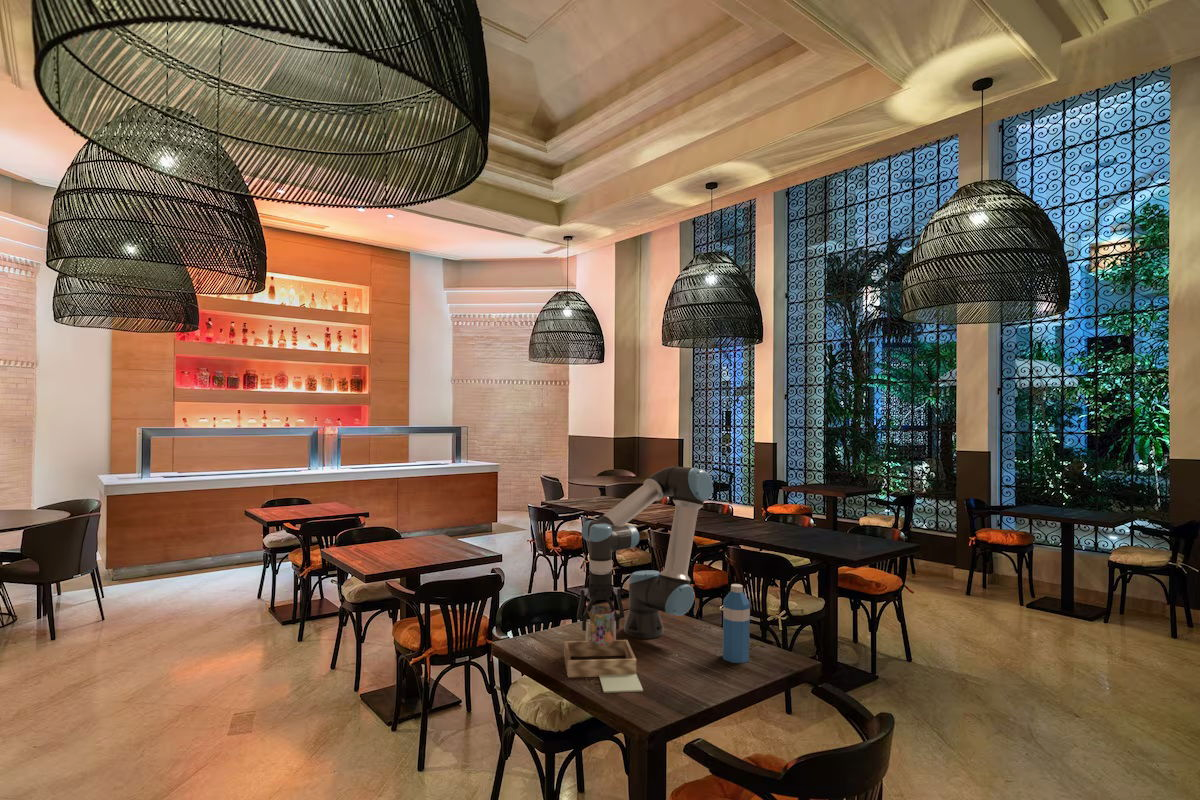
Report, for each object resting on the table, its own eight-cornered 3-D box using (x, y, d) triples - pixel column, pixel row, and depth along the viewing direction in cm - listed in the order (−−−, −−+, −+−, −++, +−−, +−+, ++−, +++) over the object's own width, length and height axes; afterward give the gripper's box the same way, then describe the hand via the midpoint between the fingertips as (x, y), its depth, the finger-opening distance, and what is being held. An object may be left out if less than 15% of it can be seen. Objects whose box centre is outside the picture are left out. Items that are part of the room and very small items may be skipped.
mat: (636, 675, 207) (636, 673, 207) (643, 691, 195) (643, 689, 195) (599, 676, 206) (599, 674, 206) (603, 692, 194) (603, 691, 194)
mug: (618, 645, 211) (618, 613, 211) (591, 648, 208) (591, 615, 208) (607, 633, 222) (607, 602, 222) (581, 635, 219) (581, 604, 219)
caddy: (627, 654, 225) (627, 639, 225) (636, 675, 207) (636, 659, 207) (564, 655, 222) (564, 641, 222) (567, 677, 204) (567, 661, 204)
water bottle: (718, 659, 221) (719, 586, 222) (726, 651, 230) (727, 580, 230) (745, 665, 217) (746, 590, 217) (752, 656, 225) (753, 584, 226)
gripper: (630, 567, 220) (630, 634, 220) (567, 569, 218) (567, 636, 218) (633, 573, 213) (633, 642, 213) (569, 575, 210) (569, 645, 210)
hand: (600, 639), depth 215 cm, fingers closed on mug, 8 cm apart
